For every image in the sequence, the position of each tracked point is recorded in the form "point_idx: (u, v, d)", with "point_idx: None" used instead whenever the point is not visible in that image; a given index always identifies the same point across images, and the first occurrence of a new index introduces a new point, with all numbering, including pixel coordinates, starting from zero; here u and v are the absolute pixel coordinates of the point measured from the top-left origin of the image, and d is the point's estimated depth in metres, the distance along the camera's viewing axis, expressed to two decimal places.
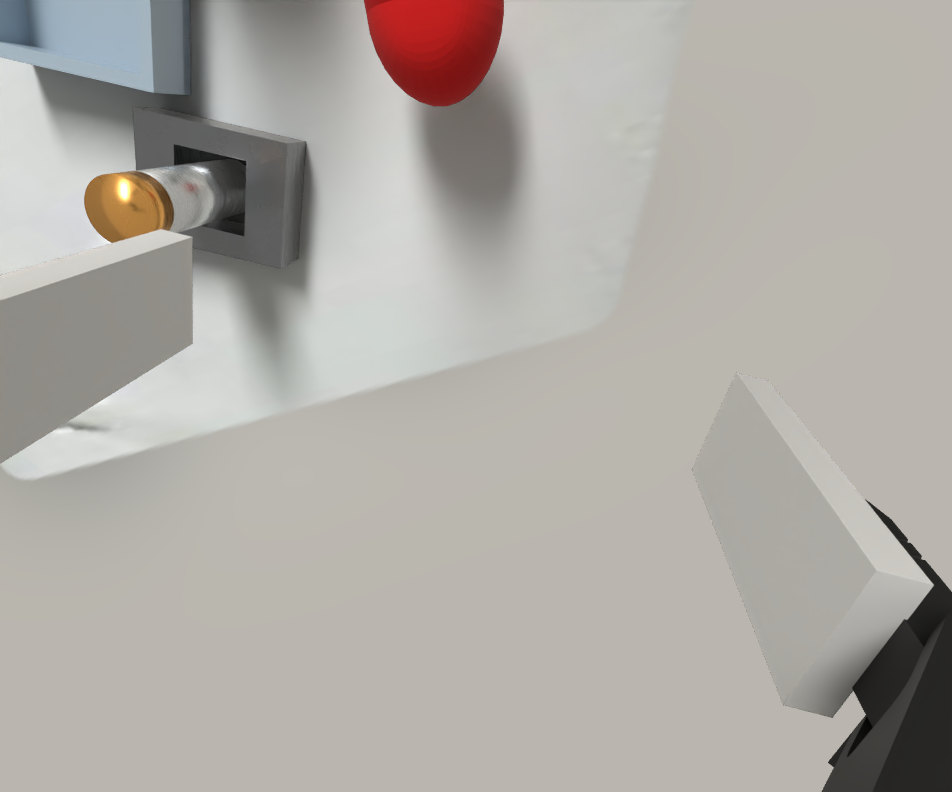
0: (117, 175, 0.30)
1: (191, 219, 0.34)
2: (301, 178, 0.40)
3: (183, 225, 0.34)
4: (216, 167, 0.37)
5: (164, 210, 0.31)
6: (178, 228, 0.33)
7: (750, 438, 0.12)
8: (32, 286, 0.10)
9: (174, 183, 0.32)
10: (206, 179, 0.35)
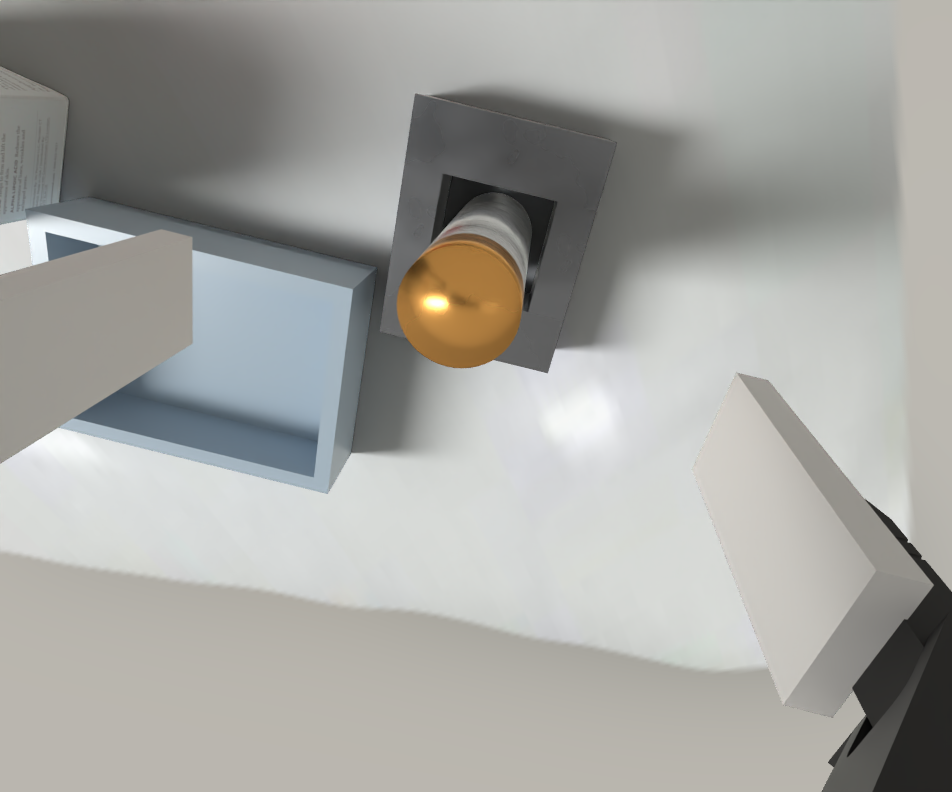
0: (399, 293, 0.17)
1: (503, 232, 0.20)
2: (481, 108, 0.25)
3: (509, 242, 0.19)
4: None
5: (466, 239, 0.17)
6: (511, 247, 0.19)
7: (750, 438, 0.12)
8: (32, 286, 0.10)
9: (438, 237, 0.19)
10: (455, 219, 0.22)
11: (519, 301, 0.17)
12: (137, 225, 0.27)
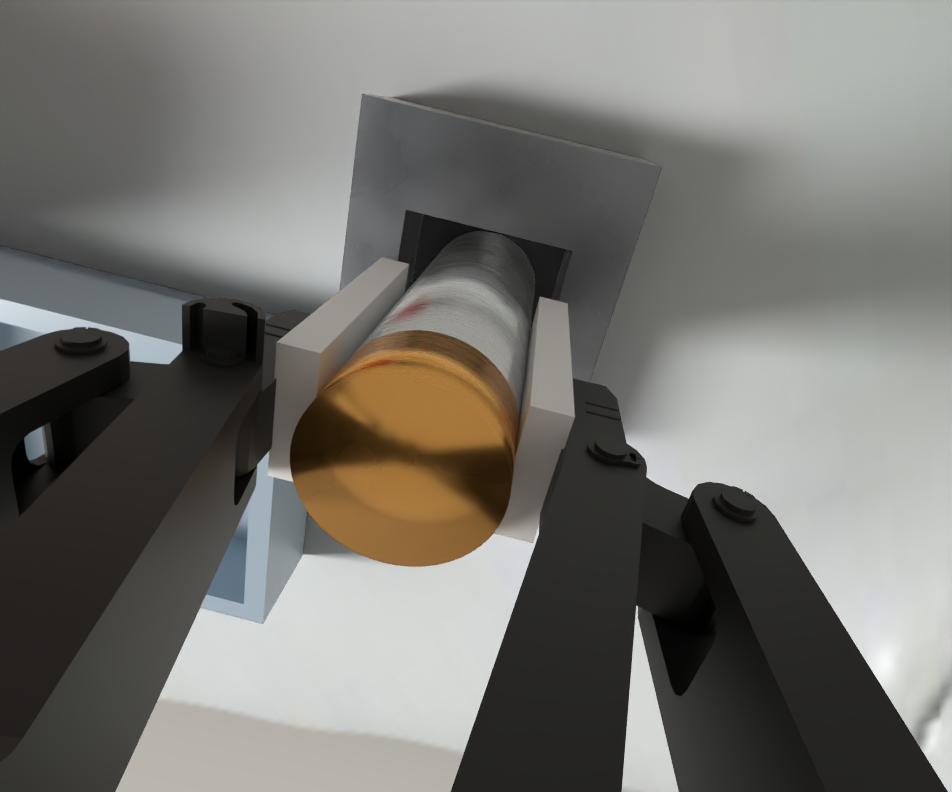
0: None
1: (487, 315, 0.12)
2: (464, 115, 0.18)
3: (496, 335, 0.12)
4: None
5: (416, 347, 0.10)
6: (499, 346, 0.11)
7: (530, 344, 0.14)
8: (351, 314, 0.11)
9: (379, 326, 0.12)
10: (417, 282, 0.14)
11: (507, 468, 0.09)
12: None
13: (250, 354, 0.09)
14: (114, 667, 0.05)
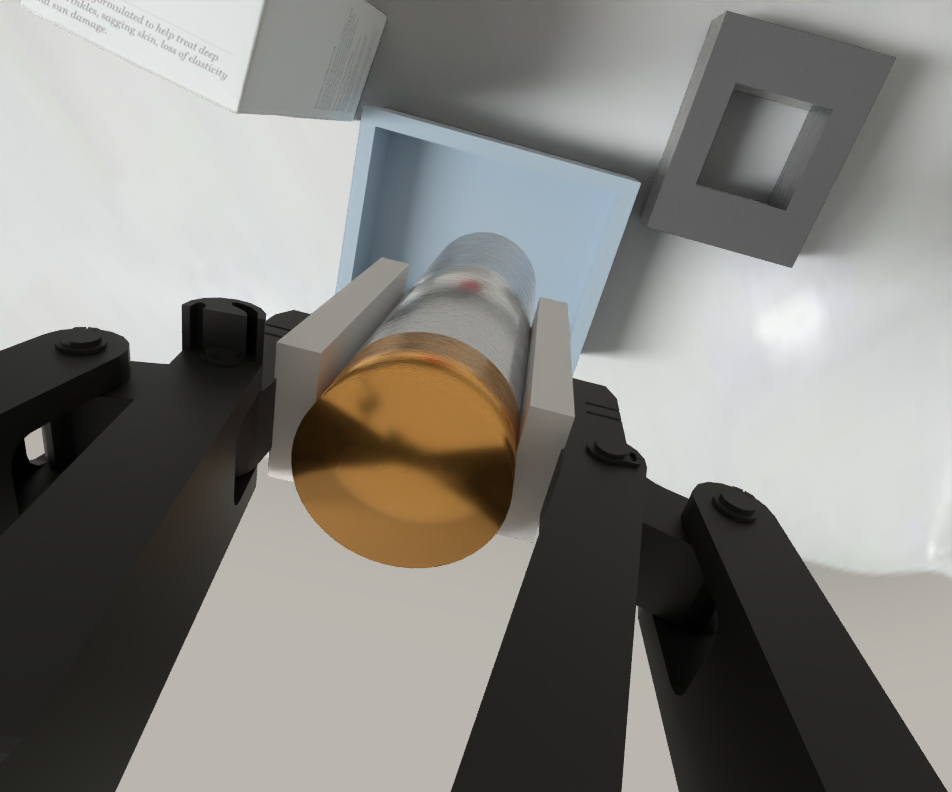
0: None
1: (488, 317, 0.12)
2: None
3: (497, 336, 0.12)
4: None
5: (417, 349, 0.10)
6: (500, 348, 0.11)
7: (530, 344, 0.14)
8: (351, 314, 0.11)
9: (380, 328, 0.12)
10: (418, 283, 0.14)
11: (509, 470, 0.09)
12: (445, 126, 0.31)
13: (250, 354, 0.09)
14: (114, 668, 0.05)
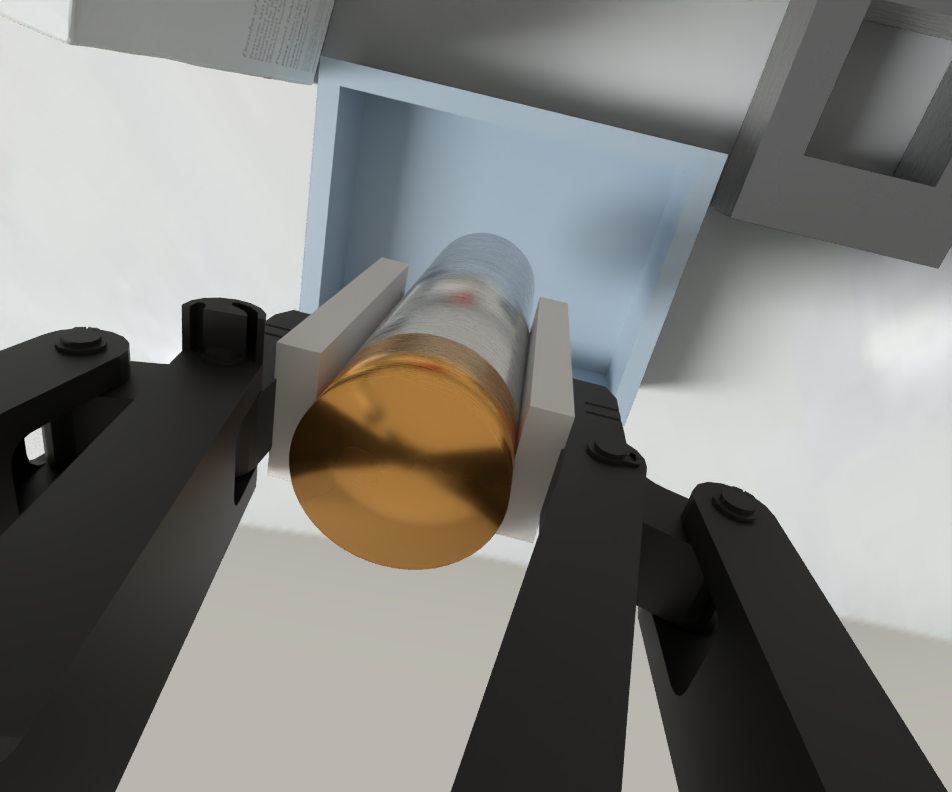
0: None
1: (487, 318, 0.12)
2: None
3: (495, 338, 0.12)
4: None
5: (415, 350, 0.10)
6: (498, 349, 0.11)
7: (530, 344, 0.14)
8: (351, 314, 0.11)
9: (379, 329, 0.12)
10: (417, 284, 0.14)
11: (507, 471, 0.09)
12: None
13: (250, 354, 0.09)
14: (114, 667, 0.05)
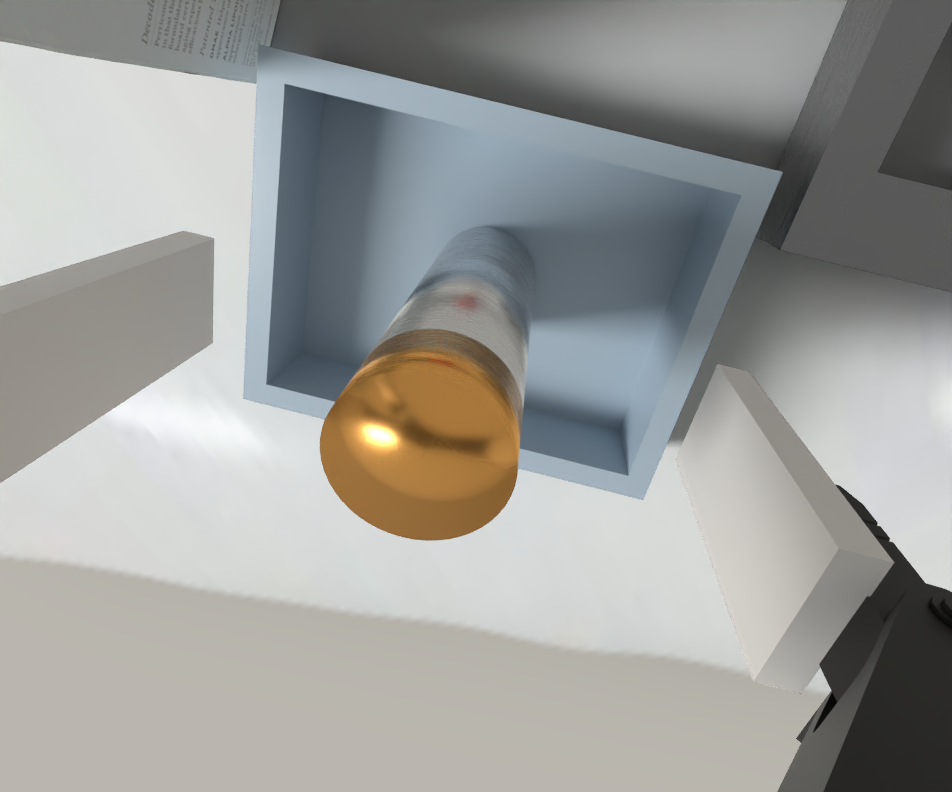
0: (323, 434, 0.11)
1: (493, 313, 0.13)
2: None
3: (501, 331, 0.13)
4: None
5: (431, 345, 0.11)
6: (504, 341, 0.12)
7: (729, 427, 0.12)
8: (67, 287, 0.10)
9: (395, 323, 0.13)
10: (426, 279, 0.16)
11: (514, 453, 0.10)
12: None
13: None
14: None
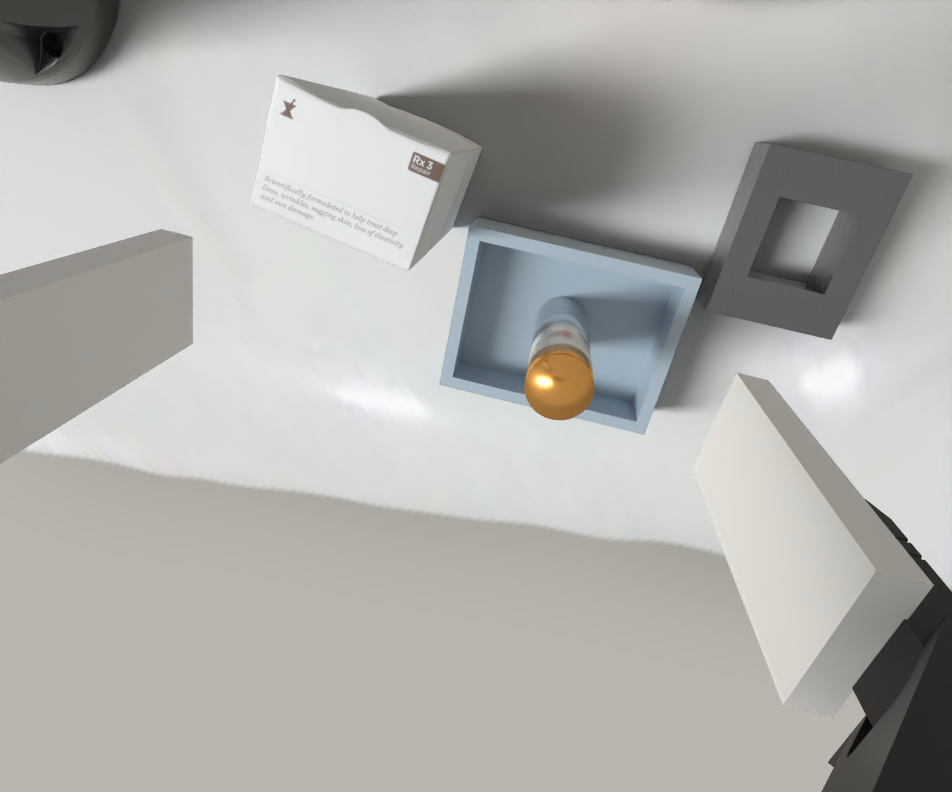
0: (526, 379, 0.31)
1: (579, 338, 0.33)
2: None
3: (583, 345, 0.33)
4: (538, 321, 0.38)
5: (563, 348, 0.31)
6: (585, 349, 0.32)
7: (750, 438, 0.12)
8: (32, 286, 0.10)
9: (541, 342, 0.33)
10: (545, 324, 0.36)
11: (593, 384, 0.30)
12: (534, 236, 0.37)
13: None
14: None
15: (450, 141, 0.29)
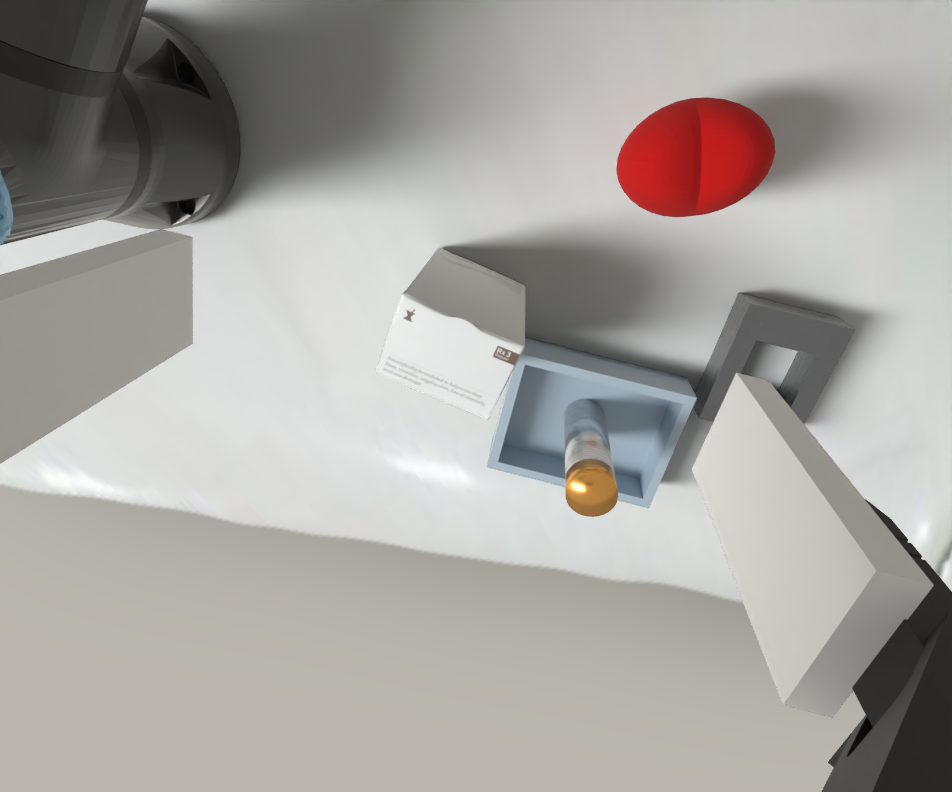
0: (567, 488, 0.41)
1: (604, 449, 0.44)
2: (769, 301, 0.46)
3: (607, 456, 0.43)
4: (568, 424, 0.49)
5: (594, 464, 0.41)
6: (609, 460, 0.43)
7: (751, 438, 0.12)
8: (32, 286, 0.10)
9: (576, 453, 0.43)
10: (576, 432, 0.46)
11: (617, 493, 0.41)
12: (567, 358, 0.48)
13: None
14: None
15: (514, 315, 0.40)
